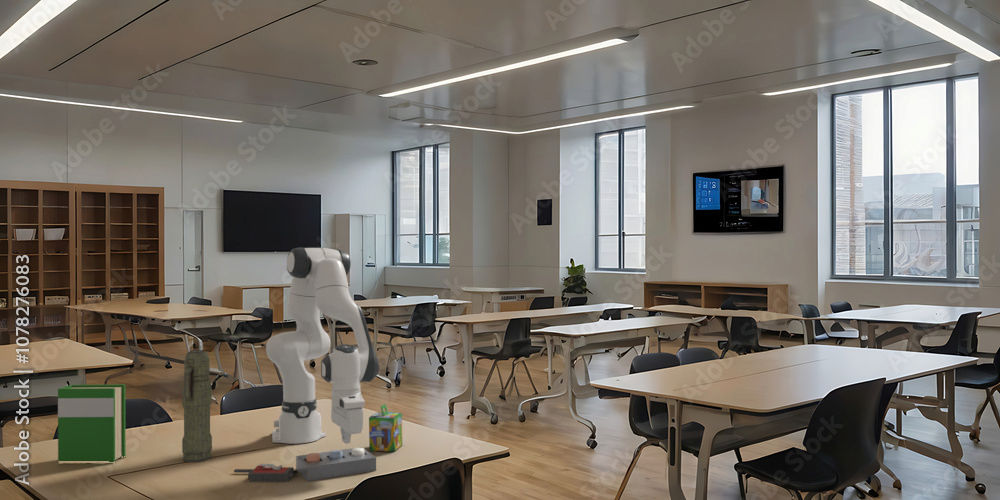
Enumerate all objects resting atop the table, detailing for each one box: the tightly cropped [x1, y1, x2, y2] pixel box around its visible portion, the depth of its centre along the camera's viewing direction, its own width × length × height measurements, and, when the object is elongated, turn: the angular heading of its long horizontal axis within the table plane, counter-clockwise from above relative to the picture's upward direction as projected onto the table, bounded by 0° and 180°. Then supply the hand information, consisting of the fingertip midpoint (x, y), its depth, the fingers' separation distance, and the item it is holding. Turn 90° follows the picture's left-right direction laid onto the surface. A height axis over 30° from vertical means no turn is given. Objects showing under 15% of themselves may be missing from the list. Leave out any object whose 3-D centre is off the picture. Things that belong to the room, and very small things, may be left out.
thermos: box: [181, 349, 213, 463], centre depth 237 cm, size 9×12×35 cm
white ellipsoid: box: [351, 447, 365, 457], centre depth 227 cm, size 4×4×3 cm
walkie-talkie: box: [233, 463, 299, 483], centre depth 216 cm, size 9×4×20 cm
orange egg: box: [305, 452, 320, 463], centre depth 220 cm, size 4×4×3 cm
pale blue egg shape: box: [328, 449, 343, 460], centre depth 224 cm, size 4×4×3 cm
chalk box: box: [368, 403, 403, 453], centre depth 248 cm, size 9×9×15 cm
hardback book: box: [57, 383, 127, 462], centre depth 235 cm, size 18×7×24 cm, turn 90°
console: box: [295, 446, 377, 482], centre depth 224 cm, size 14×21×4 cm, turn 119°
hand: (346, 442), depth 225 cm, fingers closed
